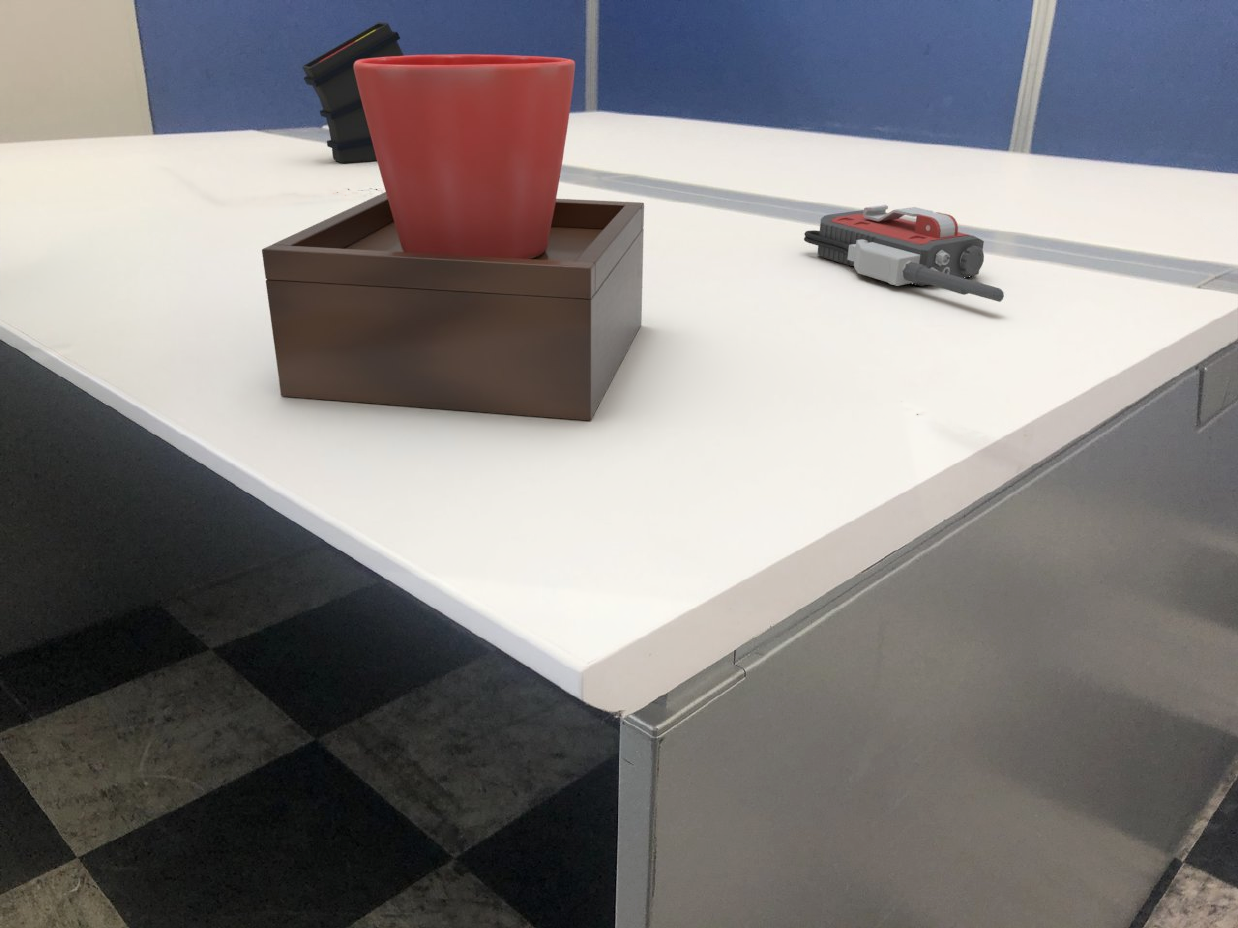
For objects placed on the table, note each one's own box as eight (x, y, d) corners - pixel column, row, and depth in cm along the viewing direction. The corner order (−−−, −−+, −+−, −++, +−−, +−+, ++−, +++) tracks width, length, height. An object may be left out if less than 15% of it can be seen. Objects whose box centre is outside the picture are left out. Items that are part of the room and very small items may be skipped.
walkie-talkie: (780, 256, 81) (987, 320, 65) (785, 199, 79) (998, 251, 64) (861, 243, 85) (1072, 301, 70) (867, 189, 83) (1085, 236, 68)
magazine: (451, 141, 126) (392, 22, 117) (362, 197, 122) (294, 78, 113) (438, 138, 128) (380, 20, 119) (351, 192, 125) (284, 76, 116)
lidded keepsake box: (280, 396, 52) (260, 249, 49) (396, 309, 66) (387, 190, 63) (590, 421, 49) (591, 267, 46) (641, 324, 64) (644, 202, 61)
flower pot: (381, 231, 59) (365, 51, 55) (569, 229, 61) (568, 52, 56) (359, 278, 50) (339, 64, 46) (584, 274, 51) (583, 65, 47)
